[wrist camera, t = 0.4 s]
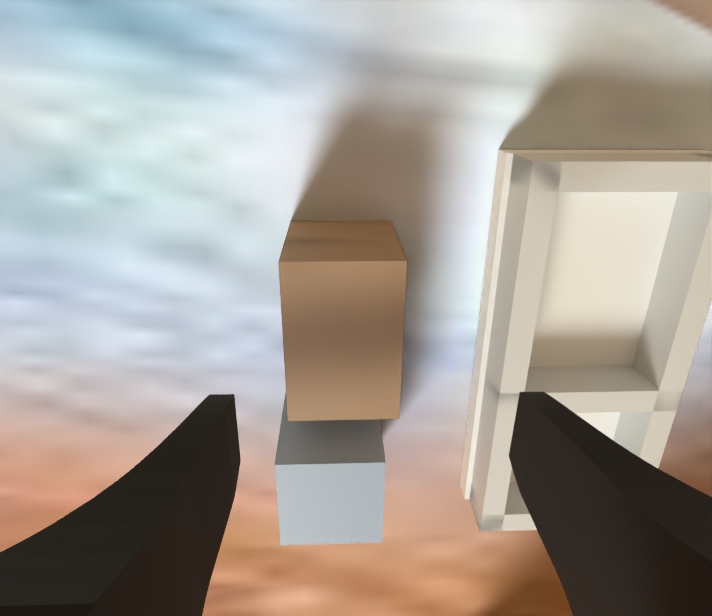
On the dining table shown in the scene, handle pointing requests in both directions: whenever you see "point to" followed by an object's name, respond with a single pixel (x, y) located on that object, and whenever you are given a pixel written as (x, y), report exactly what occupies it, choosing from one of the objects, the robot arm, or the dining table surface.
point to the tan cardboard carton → (342, 319)
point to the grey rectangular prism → (330, 481)
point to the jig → (587, 303)
